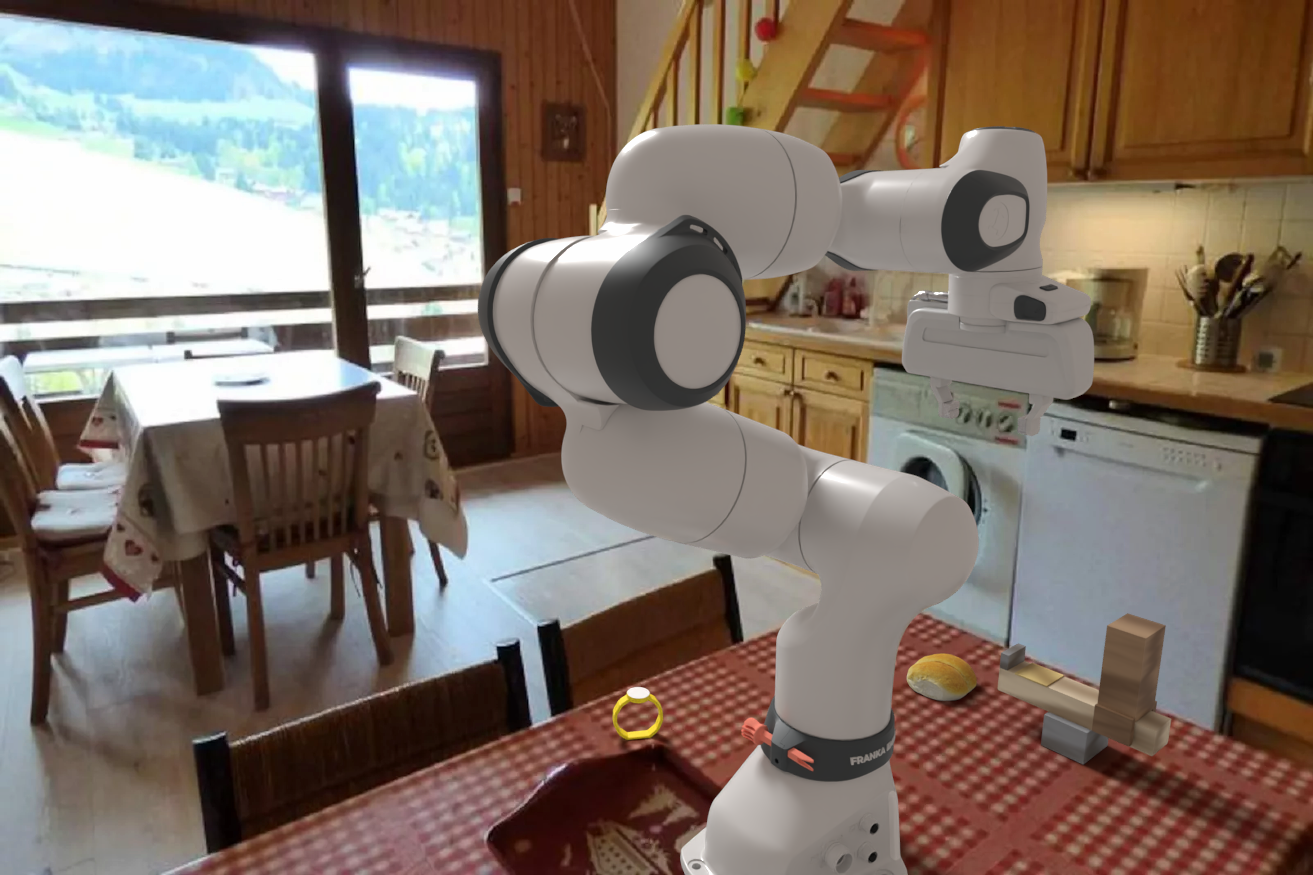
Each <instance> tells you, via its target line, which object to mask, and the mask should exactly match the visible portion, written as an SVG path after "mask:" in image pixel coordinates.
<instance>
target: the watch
mask: <svg viewBox="0 0 1313 875" xmlns="http://www.w3.org/2000/svg"><path fill="white" fill-rule="evenodd" d="M649 690H650V689H647V688H645V687H641V686H634V687H631V688H628V689H627V691H626V694H625V695H624V696H622V697H620V698H619V699H618V701H617V702H616V703H615V705H614V707H613V709H612V723H613V727H614V730H616V732H617V735H618V736H619V737H621V738H623V739H625V740H626V741H632V740H638V739H651V738H652V737H654V736H655V735H656V734H657V733H658V732H659V731H660V729H661V727H662V724H663V723H664V712H663V711H664V710H663V708H662V704H661V702H660V701H659V700H658V699H657V697H656V696H655V695H653V694H651V692H650V691H649ZM646 702H650V703H652V704H654V705H655V707H656V709H657V712H658V715H657V718H656V720H655V722H654V723H653V724H652V725H651V727H649V728H648V729H645V730H636V731H626V730H625V729H623V728H622V727H621V726H620V725H619V722H618V715H619V713H620V712H621V710H622V708H623V707H624V706H625V705H627V704H629V703H633V704H644V703H646Z"/></svg>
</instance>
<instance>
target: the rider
mask: <svg viewBox="0 0 1313 875" xmlns="http://www.w3.org/2000/svg"><path fill="white" fill-rule="evenodd" d="M1166 627H1167V626H1166V624H1163V623H1159V622H1156V621H1153V620H1150V619H1148V618H1143V617H1141V616H1137V615H1135V614H1134V615H1133V614H1132V613H1126V614H1124V615H1123V616H1121V617H1119V618H1117V619H1115V620H1114V621H1112V622H1110V623H1109V624H1107V625H1106V632H1105V638H1104V639H1105V640H1104V646H1103V647H1104V648H1103V653H1102V654H1103V655H1102V665H1101V672H1100V680H1099V688H1098V690H1099V695H1098V703H1097V704H1096V705H1095V708H1094V716H1093V724H1092V731H1093V732H1096V733H1098V734H1100V735H1103V736H1105V737H1107V738H1109V740H1113V741H1115V742H1116V743H1117V742H1118V743H1120V744H1122V745H1123V746H1126V747H1129V746H1131V745H1132V742H1133V734H1134V727H1135V722H1137V721H1138V720H1139V719H1141V718H1142V717H1143V716H1144V715H1146V714H1147V713H1148V712H1150V711H1153V712H1156V713H1157V704H1158V701H1157V700H1156V697H1157V689H1158V685H1159V684H1158V683H1159V676H1160V668H1161V661H1162V655H1163V648H1164V640H1165V632H1166Z"/></svg>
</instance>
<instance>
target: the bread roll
mask: <svg viewBox="0 0 1313 875" xmlns="http://www.w3.org/2000/svg"><path fill="white" fill-rule="evenodd" d="M906 681H907V684H908V685H909V687H910V689H912V690H913V691H914V692H916V693H917V694H920V695H923V696H924V697H926V698H929V699H931V700H936V701H939V702H941V701H942V702H949V701H957V700H961V699H962V698H964V697H965V696H967V694H968V693H970V692H972V690H974V689H975V688H976V687H977V681H978V680H977V676H976V674H975V671H974V669H973V668H972V666H971V665H970V664H969V663H968V662H967V661H965V660H964V659H962V658H961V657H958V656H956V655H954V654H951V653H950V654H949V653H934V654H930V655H925V656H923V657H921V658H920V659H918V660H917V661H916V662H915V663H914V664H912V665H911V666H910V667H909V668H908V670H907V675H906Z"/></svg>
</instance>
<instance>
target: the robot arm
mask: <svg viewBox="0 0 1313 875" xmlns="http://www.w3.org/2000/svg"><path fill="white" fill-rule="evenodd" d="M605 207H606V218H605V219H604V222H603V224H602V226H601V227H600V228H599V229H598V230H597V233H598V234H597V235H580V236H571V237H569V236H568V237H564V238H563V237H562V238H556V237H544V238H539V239H534V240H531V241H528V242H525V243H524V244H521V245H519V246H517V247H515V248H513V249H511V250H510V251H508V252H507V253H505V254H504V255H502V256H501V257H500V258H499V259H498V260H497V261H496V262H495V264H493V266H491V268H490V269H489V270H488V272H487V274H486V275H485V277H484V279H483V281H482V284H481V286H480V289H479V293H478V294H479V295H478V300H477V318H478V323H479V326H480V330H481V334H482V336H483V338H484V339H485V342H486V343H487V345H488V346H489V347H490V349H491V350H492V352H493V354H494V355H495V356H496V357H497V358H498V360H499V361H500V362H501V363H502V364H503V366H504V367H505V368H507V369H508V370H509V372H511V374H513V376H515V377H516V379H517V380H518V381H519V382H520V384H521V385H522V386H523V388H524V389H525V390H526V392H527V393H528V394H529V395H530V397H531V398H532V399H533V401H534V402H535V403H536V404H538V405H539V406H541V407H545V408H548V407H549V408H556V407H560V408H561V410H562V411H563V413H564V415H565V419H566V427H565V430H564V431H565V432H564V434H563V438H562V445H561V453H560V454H561V457H560V458H561V468H562V469H561V470H562V473H563V477H564V479H565V482H566V484H567V486H568V488H569V489H570V491H571V493H572V495H573V496H574V497H575V498H576V499H577V500H578V501H579V503H582V505H584V506H585V507H587V508H589V509H590V510H593V511H594V512H597V513H598V514H600V515H602V517H603V516H604V517H605V518H607V519H609V520H612V521H614V522H616V523H618V524H621V525H622V526H623V527H624V526H625V527H626V528H627V527H628V528H629V529H633V530H635V531H637V532H640V533H643V534H646V535H649V536H652V537H655V538H659V539H662V540H666V541H669V542H674V543H678V544H682V545H687V546H691V547H694V548H699V549H702V550H708V551H711V552H716V553H721V554H724V555H730V556H734V557H738V558H742V559H747V560H748V559H756V558H761V557H764V556H765V557H769V558H773V559H776V560H778V561H781V562H784V563H787V564H790V565H793V566H795V567H798V568H801V569H802V570H805V571H809V572H810V573H813V574H816V575H818V578H819V581H820V589H821V590H820V594H819V599H818V602H817V603H814V604H810V605H807V606H804V607H802V608H800V609H798V610H797V611H795V612H794V613H792V614H791V615H790V616H789V617H788V618H787V619H786V620H785V622H784V623H783V624H782V626H781V627H780V629H779V631H778V633H777V636H776V642H775V643H776V645H775V648H776V649H775V677H774V679H775V681H774V682H775V683H774V696H773V697H772V699H771V700H770V704H769V707H768V709H767V713H766V716H765V720H764V723H763V724H762V723H760V722H759V721H758V720H757V719H756V718H754V717H748V718H747V719H746V720H744V722H743V724H742V725H741V730H740V732H741V736H742V737H743V738H744V739H746V740H749V741H751V742H752V743H754V744H753V745H756V748H755V749H754V750H753V751H752V752H751V753H750V755H749V756H748V757H747V758H746V760H744V762H743V763H742V765H741V766H740V767H739V768H738V770H737V771H736V772H735V773H734V775H733V776H732V777H731V778H730V780H729V781H728V782H727V783H726V784H725V786H724V787H723V788H722V789H721V791H720V792H719V793H718V794H717V795H716V797H715V798H714V799H713V801H712V803H711V805H710V808H709V811H708V815H707V820H706V821H707V822H706V826H705V827H704V828H703V829H702V830H700V831H699V832H698V833H697V834H696V835H695V836H694V837H693V838H691V839H690V840H688V842H687V843H686V844H684V845H683V846H682V848H681V849H680V857H679V858H680V864H681V869H682V871H683V872H684V875H908V869H907V867H906V865H905V862H904V861H903V858H902V856H901V842H900V836H901V835H900V818H899V817H900V815H899V812H900V811H899V798H898V793H897V789H896V785H895V781H894V778H893V773H892V767H891V763H890V762H891V761H890V759H891V758H892V756H893V753H894V746H895V745H894V744H895V740H896V734H897V733H896V732H897V731H896V730H897V729H896V727H895V726H896V725H895V713H894V710H893V708H892V700H893V699H892V698H893V687H894V680H895V669H896V663H897V655H898V651H899V648H900V643H901V641H902V639H903V636H904V634H905V632H906V630H907V628H908V626H909V625H910V624H911V622H912V621H914V619H915V618H916V617H917V616H918V615H919V614H920V613H922V612H923V611H925V610H927V609H929V608H931V607H933V606H936V605H939V604H941V603H943V602H944V601H946V600H948V599H950V598H951V597H952V596H953V595H955V594H956V593H957V592H958V591H959V590H960V589H961V588H962V587H963V585H964V584H965V583H966V582H967V580H968V579H969V577H970V576H971V574H972V572H973V570H974V567H975V565H976V562H977V557H978V553H979V544H980V543H979V530H978V524H977V522H976V518H975V516H974V514H973V512H972V509H971V508H970V506H969V504H968V503H967V502H966V501H965V500H964V499H963V498H961V497H959V496H957V495H955V494H953V493H952V492H950V491H949V490H947V489H944V488H943V487H940V485H939V486H938V484H937V485H936V484H934V483H932V482H930V481H928V480H926V479H924V478H922V477H920V476H919V475H918V476H917V475H914V474H911V473H907V472H904V471H903V472H902V471H898V470H895V469H891V468H887V467H882V466H878V465H875V464H870V463H866V462H863V461H862V462H861V461H858V460H854V459H851V458H846V457H843V456H839V455H834V454H832V453H828V452H823V451H820V450H816V449H813V448H809V447H807V446H803V445H802V444H798V443H797V442H796V441H795V439H793V438H792V436H790V435H789V434H787V433H786V432H784V431H782V430H779V429H778V428H774V427H771V426H769V425H766V424H765V423H761V422H759V421H757V420H754V419H751V418H749V417H745V416H744V415H740V414H738V413H736V412H733V411H731V410H728V409H726V408H723V407H721V406H717V405H715V404H712V403H709V402H708V401H710V400H711V399H713V398H715V396H717V395H718V394H719V393H720V392H721V391H722V390H723V389H724V387H725V386H726V385H727V384H728V382H729V381H730V379H731V377H732V375H733V373H734V372H735V369H736V367H737V364H738V362H739V360H740V357H741V355H742V352H743V348H744V344H745V339H746V328H747V327H746V326H747V305H746V304H747V303H746V295H745V291H744V286H743V280H764V279H774V278H780V277H784V276H785V277H786V276H789V275H793V274H797V273H800V272H805V271H807V270H810V269H813V268H814V267H815V266H816V265H818V264H819V263H820V262H821V260H822V259H823V258H824V257H827V258H828V259H829V260H831V261H832V262H834V263H835V264H836V265H838V266H840V267H841V268H843V269H845V270H847V271H853V272H861V271H862V272H864V271H865V272H866V271H892V272H896V271H897V272H910V273H911V272H913V273H927V274H928V273H929V274H930V273H931V274H947V275H948V290H947V291H932V290H928V289H927V290H926V289H925V290H924V289H923V290H920V291H918V293H916V294H914V295H913V296H912V297H911V298H910V299H909V300H908V302H907V312H906V313H907V315H906V319H907V321H906V325H905V328H904V329H905V331H904V336H903V342H902V343H903V344H902V349H901V350H902V351H901V363H902V366H903V368H904V369H905V371H906V373H908V374H911V375H912V374H913V375H917V376H924V377H928V378H929V386H930V389H931V391H932V393H933V395H934V397H935V399H936V401H937V403H938V412H937V413H938V417H940V418H944V419H948V420H949V419H950V420H953V419H956V418H958V416H960V415H959V414H960V410H959V408H960V401H959V400H955V399H954V398H953V395H952V392H951V389H950V387H949V385H951V384H952V383H953V381H954V382H959V383H964V384H970V385H978V386H983V387H987V388H994V389H995V388H996V389H1001V390H1007V391H1013V392H1019V393H1024V394H1029V395H1028V397H1029V398H1028V403H1029V404H1030V405H1033V406H1032V408H1031V409H1030V410H1029V412H1028V413H1027V414H1023V416H1022V415H1021V416H1019V417H1018V418H1017V425H1018V426H1017V429H1016V431H1017V434H1018V435H1019V434H1020V435H1023V436H1024V435H1025V436H1030V437H1033V436H1036V435H1037V434H1039V432H1040V430H1041V429H1040V428H1041V417H1043V416H1044V414H1045V413H1046V412H1047V410H1048V409H1049V407H1050V406H1051V405H1052V404H1053V403H1054V398H1055V399H1058V400H1059V399H1060V400H1071V399H1073V398H1078V397H1079V396H1081V395H1082V396H1083V395H1084V394H1085V393H1086V392H1087V391H1088V390H1089V389H1090V388H1091V386H1092V385H1093V380H1094V373H1095V371H1094V370H1095V369H1094V368H1095V340H1094V335H1093V334H1094V333H1093V330H1092V328H1091V326H1090V324H1089V323H1088V322H1087V321H1086V320H1085V319H1083V318H1082V317H1084V316H1086V315H1088V314H1089V313H1090V310H1091V307H1092V306H1091V305H1092V300H1091V296H1090V295H1089V294H1088V293H1086V292H1084V291H1081V290H1079V289H1076V288H1073V287H1071V286H1069V285H1067V284H1066V285H1065V284H1064V283H1061V282H1059V281H1056V280H1054V279H1052V278H1050V277H1048V276H1045V275H1043V265H1044V262H1043V261H1044V260H1043V256H1042V251H1041V237H1042V236H1041V235H1042V232H1043V230H1044V226H1045V224H1046V219H1047V207H1048V168H1047V156H1046V149H1045V144H1044V140H1043V138H1042V136H1041V135H1040V134H1039V133H1037V132H1036V131H1035V130H1031V129H1029V128H1025V127H1020V126H1018V127H1017V126H1004V125H1002V126H1000V125H997V126H996V125H994V126H984V127H979V128H978V127H977V128H974V129H972V130H968V131H967V132H965V133H963V135H962V137H961V139H960V142H959V146H958V151H957V152H956V154H954V155H953V157H952V158H950V159H949V160H947V161H946V162H944V163H942V164H940V165H939V167H935V168H919V169H917V168H916V169H901V170H900V169H899V170H879V169H878V170H876V169H875V170H874V169H869V170H868V169H857V170H852V171H850V172H847V173H845V174H843V175H841V176H840V177H839V174H838V172H837V170H836V167H835V165H834V163H833V161H832V159H831V158H830V156H829V155H828V154H827V152H825V150H823V149H822V148H820V147H818V146H816V145H815V144H812V143H810V142H808V141H806V140H804V139H802V138H799V137H796V136H793V135H790V134H788V133H783V132H779V131H774V130H771V129H770V130H769V129H765V128H757V127H752V126H751V127H750V126H743V125H735V124H717V123H715V124H711V123H710V124H700V123H699V124H685V125H672V126H671V125H670V126H665V127H657V128H652V129H649V130H646V131H644V132H642V133H640V134H638V135H636V136H635V137H633V138H632V139H631V140H630V141H629V142H628V143H626V145H624V147H623V148H622V149H620V151H619V153H618V155H616V158H615V159H614V162H613V163H612V166H611V168H610V171H609V174H608V178H607V183H606V189H605Z"/></svg>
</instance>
